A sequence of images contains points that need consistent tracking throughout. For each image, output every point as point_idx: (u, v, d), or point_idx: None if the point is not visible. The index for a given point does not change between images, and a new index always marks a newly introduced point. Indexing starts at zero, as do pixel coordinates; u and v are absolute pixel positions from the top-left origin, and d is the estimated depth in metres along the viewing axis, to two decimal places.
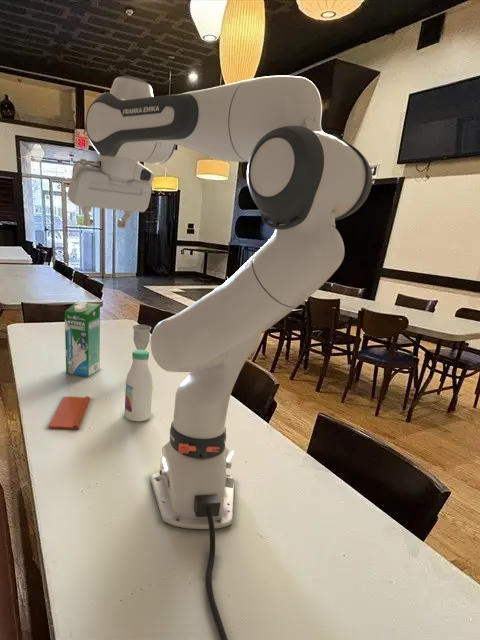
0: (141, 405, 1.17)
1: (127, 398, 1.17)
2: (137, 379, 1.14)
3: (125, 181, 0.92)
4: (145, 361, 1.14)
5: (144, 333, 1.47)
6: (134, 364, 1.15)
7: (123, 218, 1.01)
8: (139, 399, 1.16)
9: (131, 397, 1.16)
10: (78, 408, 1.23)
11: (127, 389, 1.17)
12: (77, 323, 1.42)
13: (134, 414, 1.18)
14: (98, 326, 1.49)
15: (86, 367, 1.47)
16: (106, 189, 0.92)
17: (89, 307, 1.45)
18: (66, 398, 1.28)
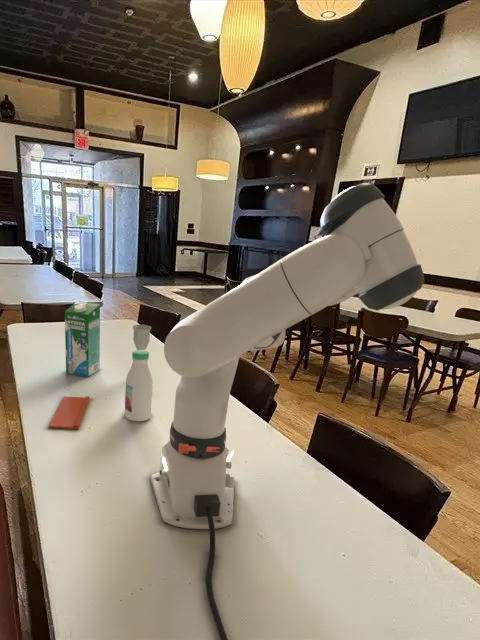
0: (141, 405, 1.17)
1: (127, 398, 1.17)
2: (137, 379, 1.14)
3: None
4: (145, 361, 1.14)
5: (144, 333, 1.47)
6: (134, 364, 1.15)
7: None
8: (139, 399, 1.16)
9: (131, 397, 1.16)
10: (78, 408, 1.23)
11: (127, 389, 1.17)
12: (77, 323, 1.42)
13: (134, 414, 1.18)
14: (98, 326, 1.49)
15: (86, 367, 1.47)
16: None
17: (89, 307, 1.45)
18: (66, 398, 1.28)
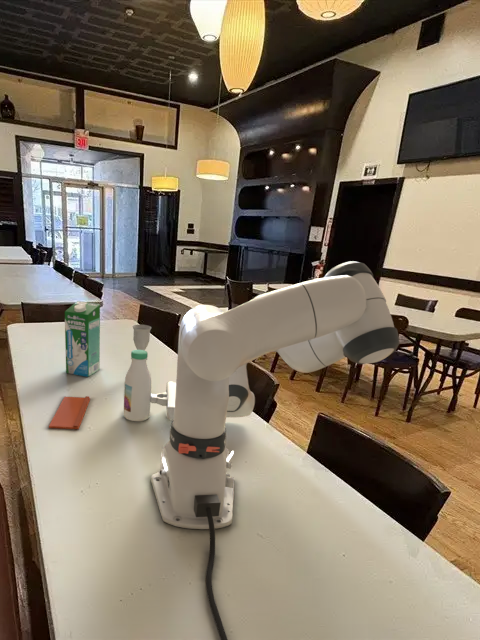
0: (140, 405, 1.17)
1: (126, 398, 1.17)
2: (136, 379, 1.14)
3: None
4: (144, 361, 1.14)
5: (144, 333, 1.47)
6: (133, 364, 1.15)
7: None
8: (138, 399, 1.16)
9: (130, 397, 1.16)
10: (78, 408, 1.23)
11: (126, 389, 1.17)
12: (77, 323, 1.42)
13: (133, 414, 1.18)
14: (98, 326, 1.49)
15: (86, 367, 1.47)
16: None
17: (89, 307, 1.45)
18: (66, 398, 1.28)
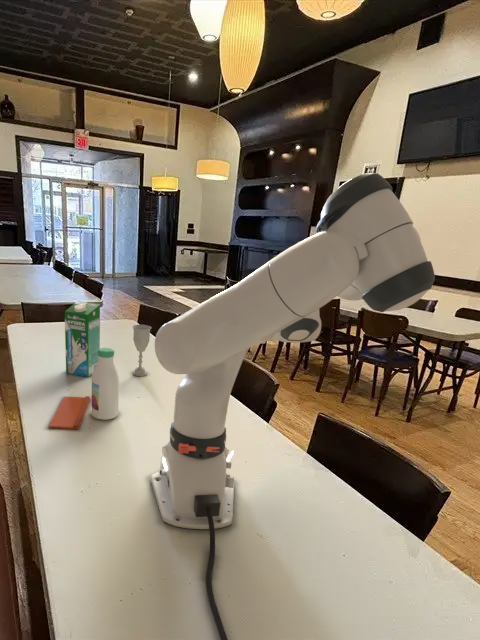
0: (107, 403, 1.16)
1: (93, 396, 1.17)
2: (103, 377, 1.14)
3: None
4: (110, 359, 1.14)
5: (144, 333, 1.47)
6: (99, 362, 1.14)
7: None
8: (105, 397, 1.15)
9: (98, 396, 1.15)
10: (78, 408, 1.23)
11: (93, 387, 1.16)
12: (77, 323, 1.42)
13: (101, 412, 1.17)
14: (98, 326, 1.49)
15: (86, 367, 1.47)
16: None
17: (89, 307, 1.45)
18: (66, 398, 1.28)
